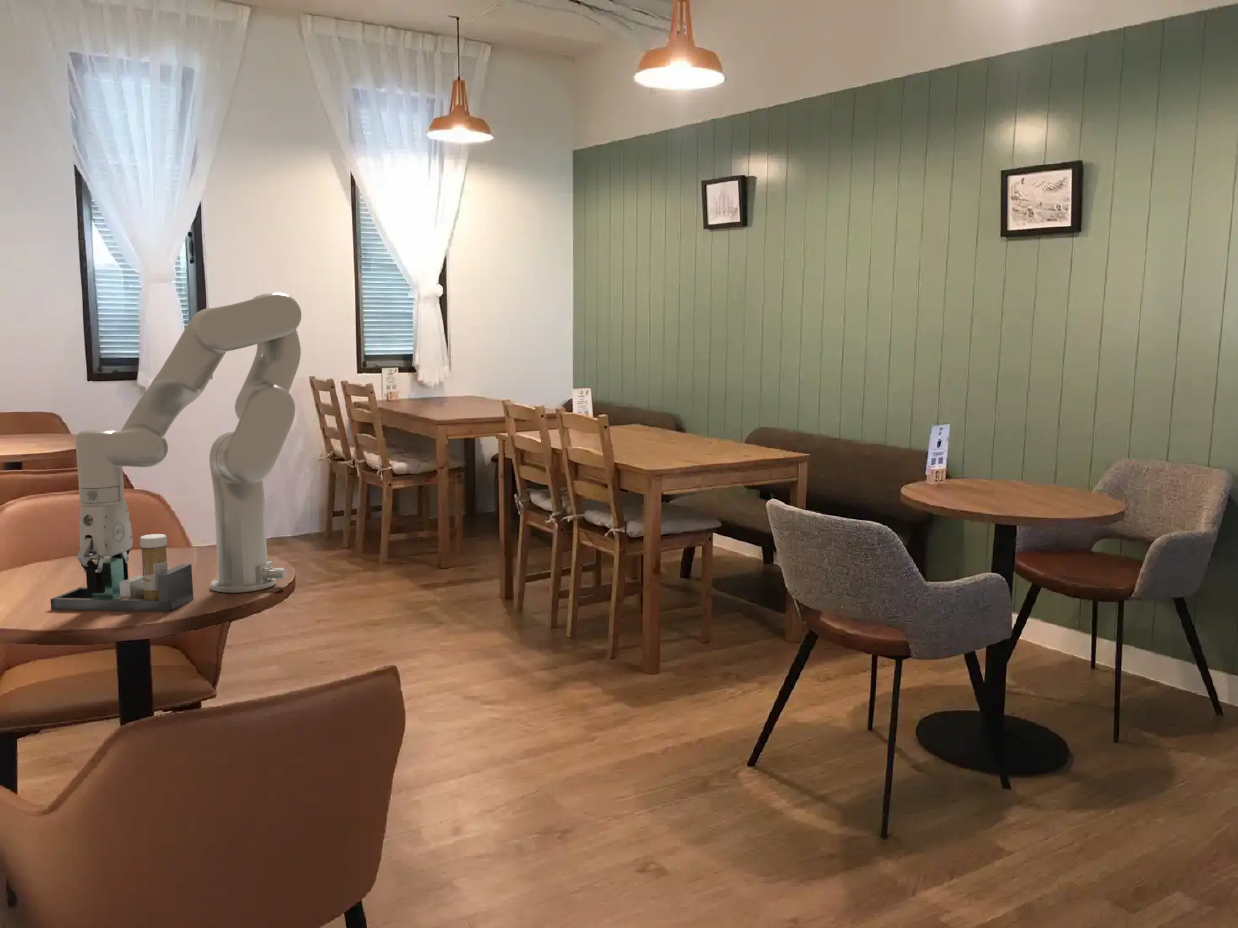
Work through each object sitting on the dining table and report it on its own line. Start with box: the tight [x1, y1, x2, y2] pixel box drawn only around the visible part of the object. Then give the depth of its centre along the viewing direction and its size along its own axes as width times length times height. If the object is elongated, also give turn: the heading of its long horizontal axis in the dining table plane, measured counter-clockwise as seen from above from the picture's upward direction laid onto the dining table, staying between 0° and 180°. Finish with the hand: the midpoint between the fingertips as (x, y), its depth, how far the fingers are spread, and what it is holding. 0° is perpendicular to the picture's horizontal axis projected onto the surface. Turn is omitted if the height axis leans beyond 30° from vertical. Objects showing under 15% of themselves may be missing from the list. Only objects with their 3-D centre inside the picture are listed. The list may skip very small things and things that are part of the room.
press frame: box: [49, 563, 194, 613], centre depth 191 cm, size 23×9×7 cm, turn 85°
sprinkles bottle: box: [139, 533, 169, 600], centre depth 190 cm, size 5×5×13 cm
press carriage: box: [92, 557, 144, 600], centre depth 191 cm, size 8×6×8 cm
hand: (108, 586), depth 192 cm, fingers open, 7 cm apart
